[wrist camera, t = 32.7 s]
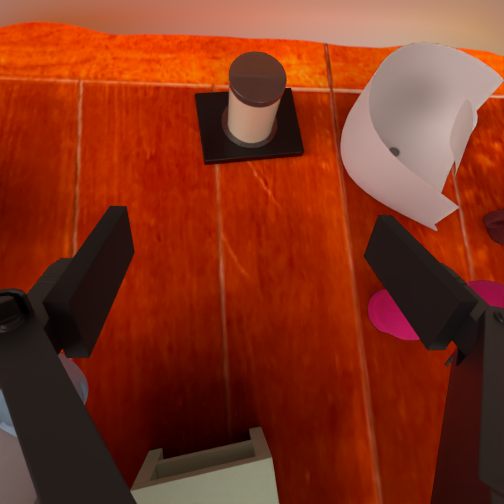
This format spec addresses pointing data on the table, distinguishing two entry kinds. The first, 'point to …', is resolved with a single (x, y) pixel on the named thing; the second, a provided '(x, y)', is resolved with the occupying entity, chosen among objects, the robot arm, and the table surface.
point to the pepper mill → (395, 323)
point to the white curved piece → (415, 127)
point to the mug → (495, 225)
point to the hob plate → (234, 150)
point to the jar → (254, 95)
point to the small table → (210, 475)
